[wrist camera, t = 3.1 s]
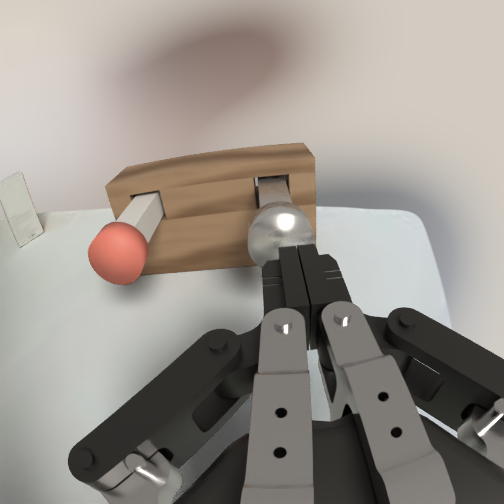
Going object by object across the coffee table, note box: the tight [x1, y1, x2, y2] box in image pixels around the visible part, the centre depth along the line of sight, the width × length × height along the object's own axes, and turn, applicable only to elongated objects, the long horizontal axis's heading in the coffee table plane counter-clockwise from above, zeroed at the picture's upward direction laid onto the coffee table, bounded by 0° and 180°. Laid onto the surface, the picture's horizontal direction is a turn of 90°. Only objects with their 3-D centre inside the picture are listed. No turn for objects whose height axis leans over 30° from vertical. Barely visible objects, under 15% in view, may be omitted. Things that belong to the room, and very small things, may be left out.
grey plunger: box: [248, 175, 315, 268], centre depth 24 cm, size 12×4×4 cm, turn 1°
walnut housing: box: [105, 143, 316, 275], centre depth 31 cm, size 6×20×11 cm, turn 91°
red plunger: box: [88, 190, 165, 285], centre depth 25 cm, size 12×4×4 cm, turn 1°
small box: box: [0, 172, 44, 247], centre depth 44 cm, size 8×6×13 cm
